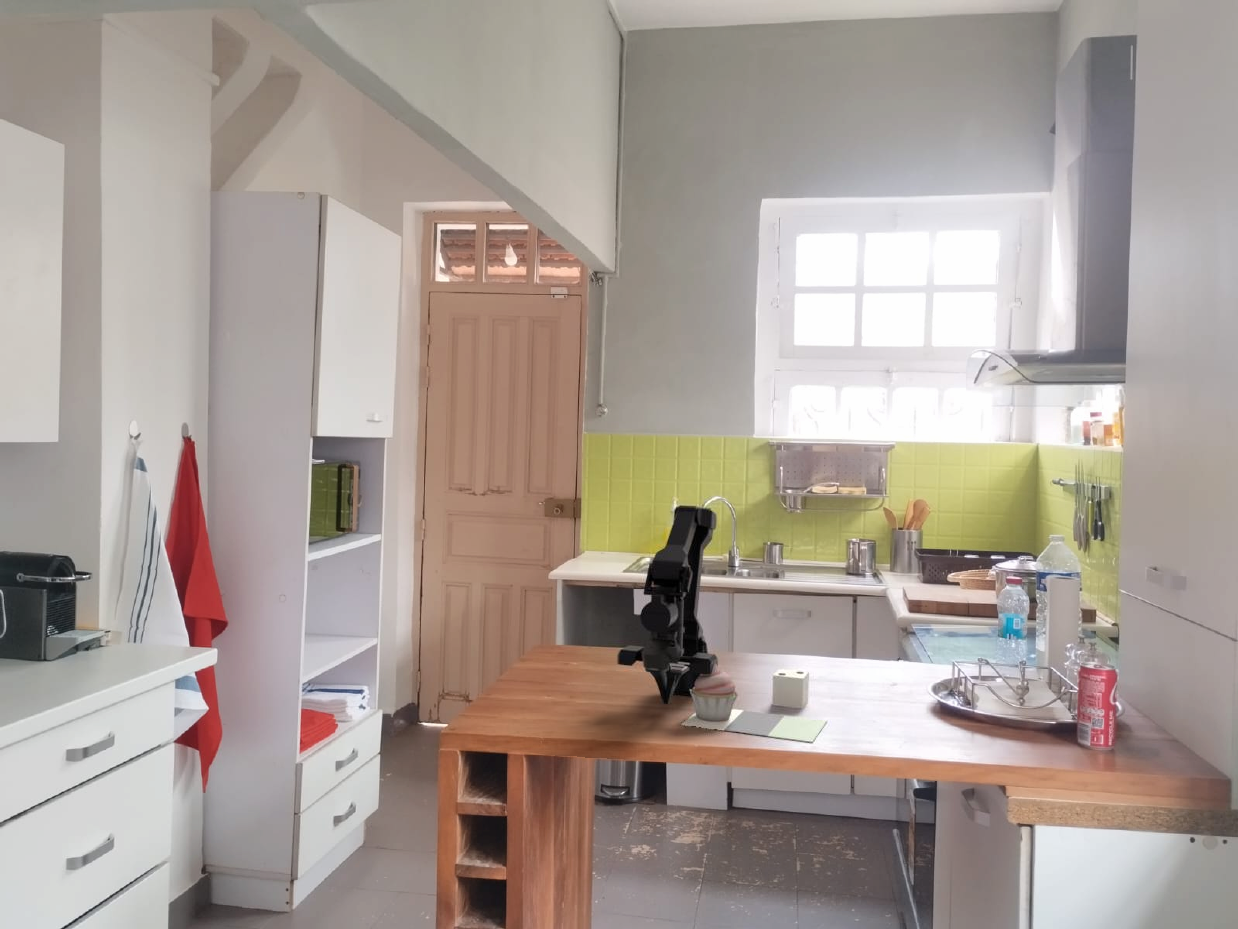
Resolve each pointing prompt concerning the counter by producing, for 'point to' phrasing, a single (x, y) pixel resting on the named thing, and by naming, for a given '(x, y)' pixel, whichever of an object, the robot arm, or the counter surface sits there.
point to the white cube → (790, 688)
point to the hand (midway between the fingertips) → (666, 704)
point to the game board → (764, 725)
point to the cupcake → (714, 695)
